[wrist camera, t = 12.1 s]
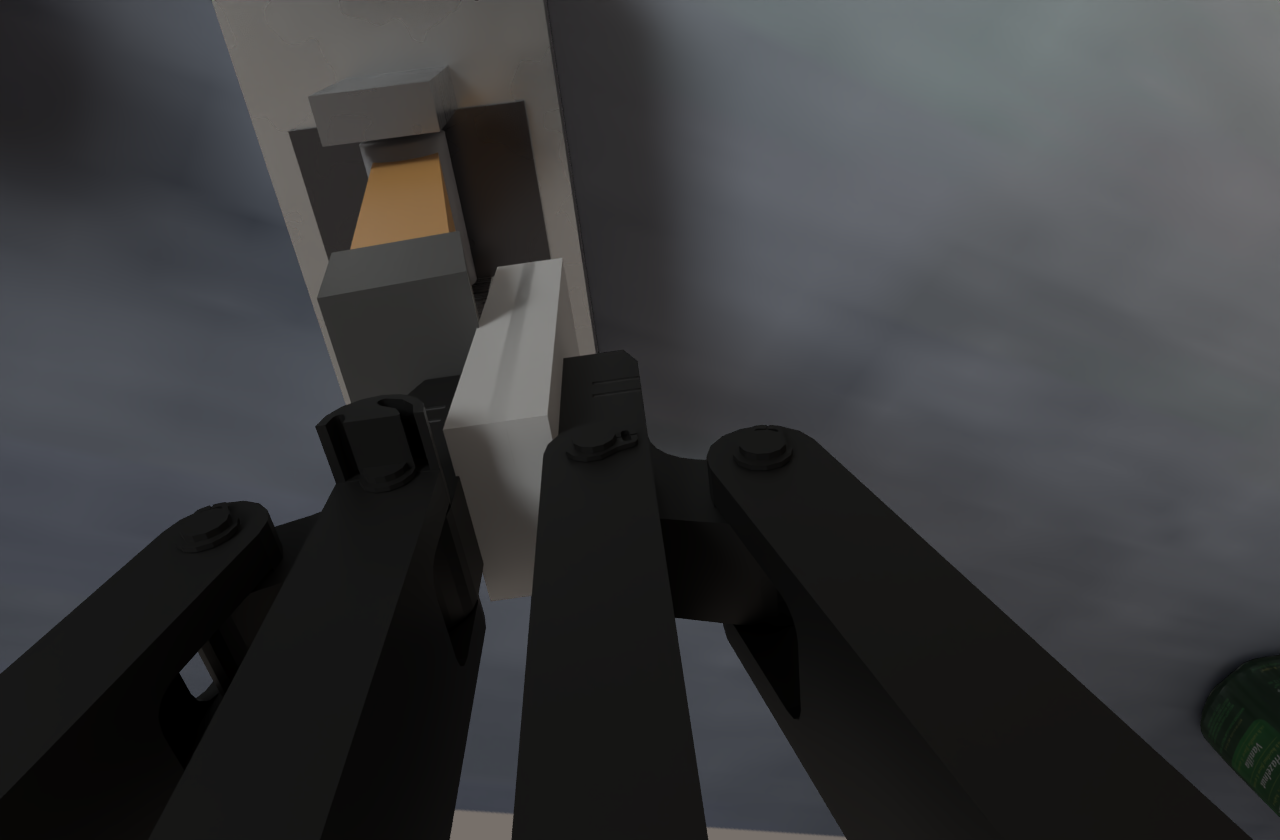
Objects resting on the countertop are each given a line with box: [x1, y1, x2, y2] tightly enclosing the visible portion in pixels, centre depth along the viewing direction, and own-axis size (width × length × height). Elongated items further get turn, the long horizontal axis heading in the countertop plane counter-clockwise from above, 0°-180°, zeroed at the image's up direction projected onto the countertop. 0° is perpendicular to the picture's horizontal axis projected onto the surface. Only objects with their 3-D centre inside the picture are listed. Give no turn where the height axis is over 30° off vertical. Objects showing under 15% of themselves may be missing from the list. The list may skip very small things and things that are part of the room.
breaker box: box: [212, 0, 599, 405], centre depth 26 cm, size 9×18×10 cm, turn 6°
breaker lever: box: [317, 130, 479, 403], centre depth 19 cm, size 2×4×14 cm, turn 6°
